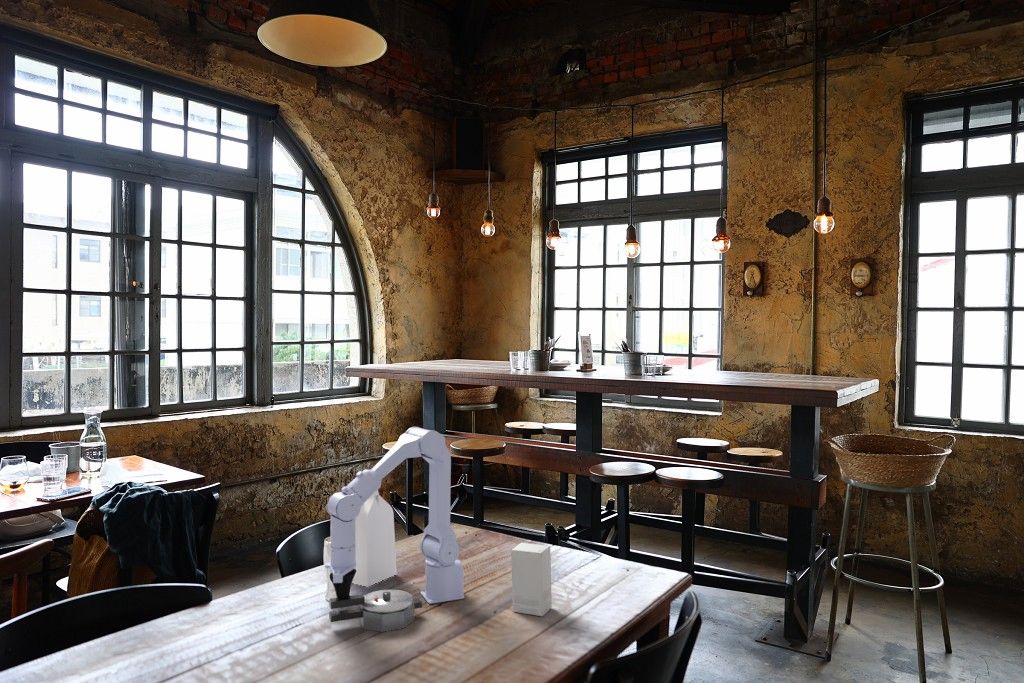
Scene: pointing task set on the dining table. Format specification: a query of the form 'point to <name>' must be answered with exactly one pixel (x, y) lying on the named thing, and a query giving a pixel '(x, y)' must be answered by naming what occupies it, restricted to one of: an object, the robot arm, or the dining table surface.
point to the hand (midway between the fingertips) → (343, 602)
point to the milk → (375, 542)
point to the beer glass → (328, 571)
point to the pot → (378, 617)
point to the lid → (376, 601)
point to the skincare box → (531, 579)
